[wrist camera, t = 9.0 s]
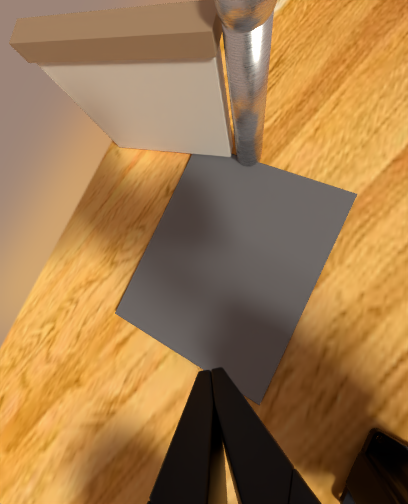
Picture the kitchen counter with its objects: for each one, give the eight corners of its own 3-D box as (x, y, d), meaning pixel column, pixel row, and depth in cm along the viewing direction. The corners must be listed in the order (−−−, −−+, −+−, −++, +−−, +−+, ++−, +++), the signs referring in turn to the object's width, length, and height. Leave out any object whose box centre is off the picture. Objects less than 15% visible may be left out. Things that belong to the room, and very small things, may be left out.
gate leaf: (235, 143, 21) (219, -2, 10) (231, 160, 21) (211, 31, 10) (121, 134, 24) (17, 18, 13) (117, 149, 24) (8, 43, 13)
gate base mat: (355, 195, 18) (357, 194, 18) (259, 402, 18) (259, 405, 18) (198, 145, 22) (197, 142, 22) (117, 312, 22) (115, 313, 22)
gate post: (252, 139, 21) (255, -110, 8) (269, 158, 21) (304, -76, 7) (229, 156, 21) (193, -54, 8) (245, 175, 21) (236, -17, 7)
